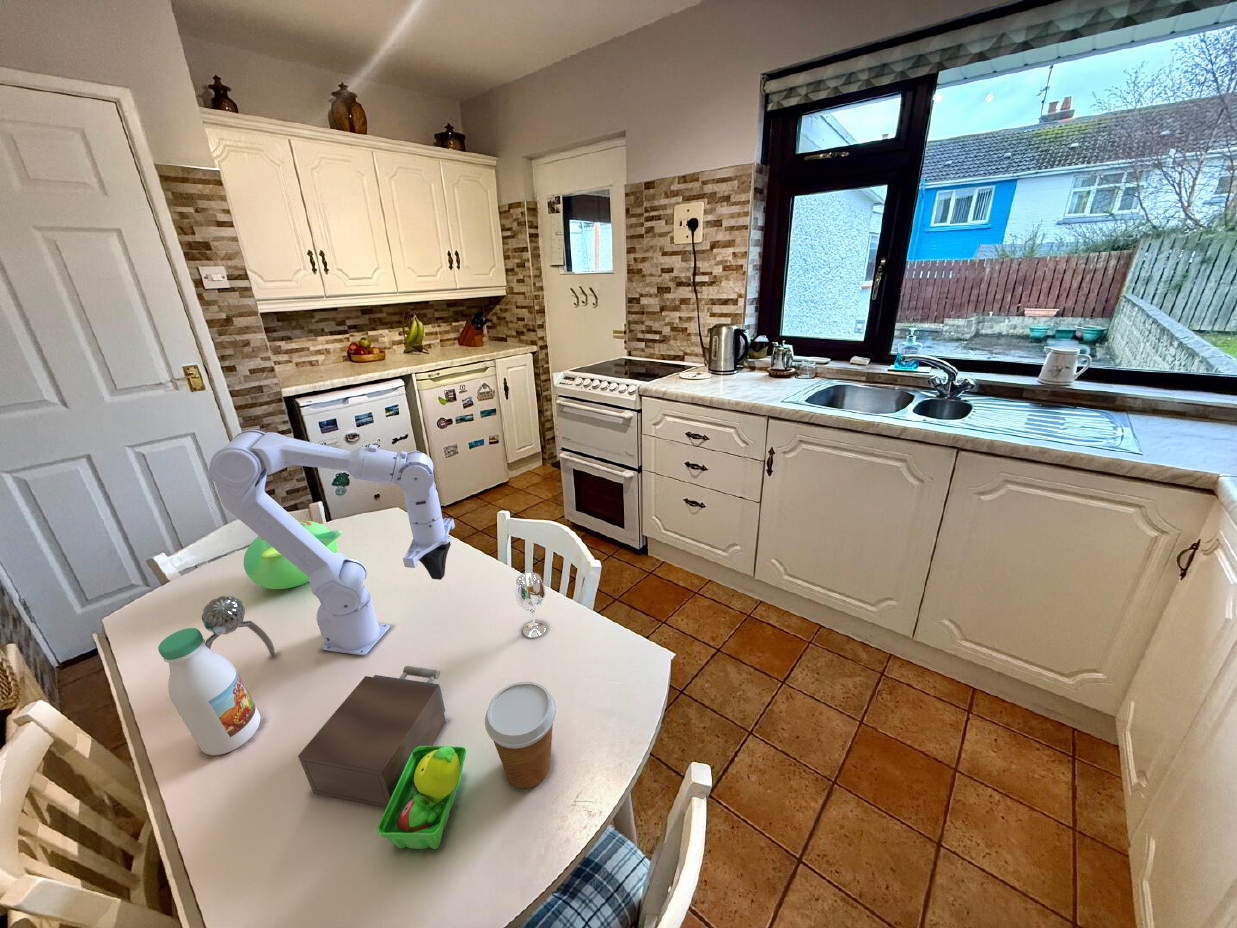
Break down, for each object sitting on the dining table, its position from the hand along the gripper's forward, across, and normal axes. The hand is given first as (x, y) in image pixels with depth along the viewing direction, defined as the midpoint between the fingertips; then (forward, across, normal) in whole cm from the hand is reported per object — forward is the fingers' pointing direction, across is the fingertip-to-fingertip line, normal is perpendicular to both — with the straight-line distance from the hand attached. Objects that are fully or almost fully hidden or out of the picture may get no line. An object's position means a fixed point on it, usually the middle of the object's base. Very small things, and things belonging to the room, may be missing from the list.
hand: (438, 577), depth 95 cm
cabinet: (+10, -29, -6) cm, 31 cm away
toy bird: (+11, +7, +41) cm, 43 cm away
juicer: (+7, -17, +33) cm, 38 cm away
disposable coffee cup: (+11, -27, -28) cm, 40 cm away
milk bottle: (+10, -30, +20) cm, 38 cm away
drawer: (+10, -25, -6) cm, 28 cm away
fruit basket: (+11, -35, -18) cm, 41 cm away
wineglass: (+11, 0, -19) cm, 22 cm away
